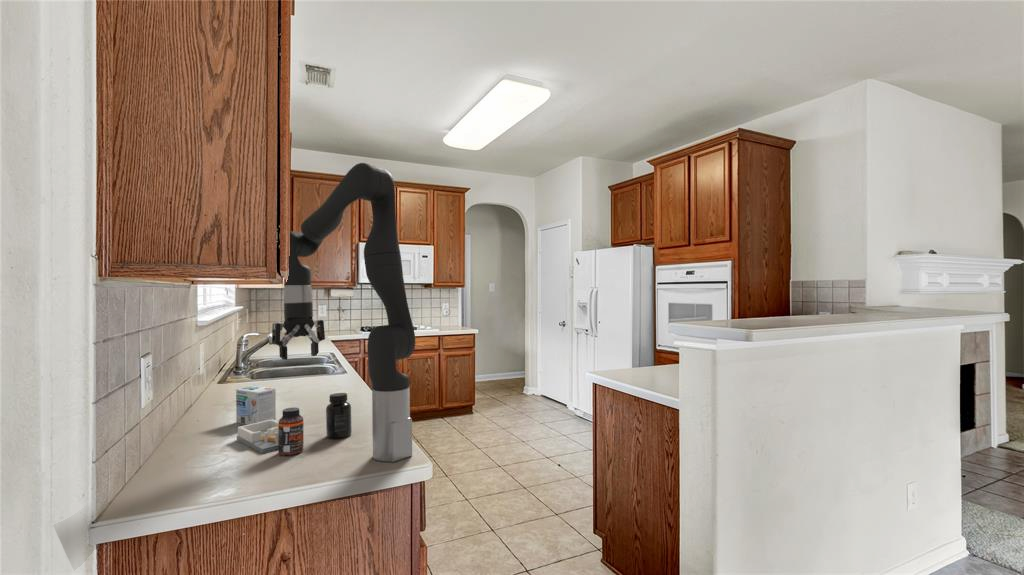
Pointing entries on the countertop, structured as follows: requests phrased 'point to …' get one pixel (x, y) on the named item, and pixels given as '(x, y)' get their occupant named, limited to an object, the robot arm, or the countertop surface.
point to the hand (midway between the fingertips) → (299, 357)
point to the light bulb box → (255, 404)
